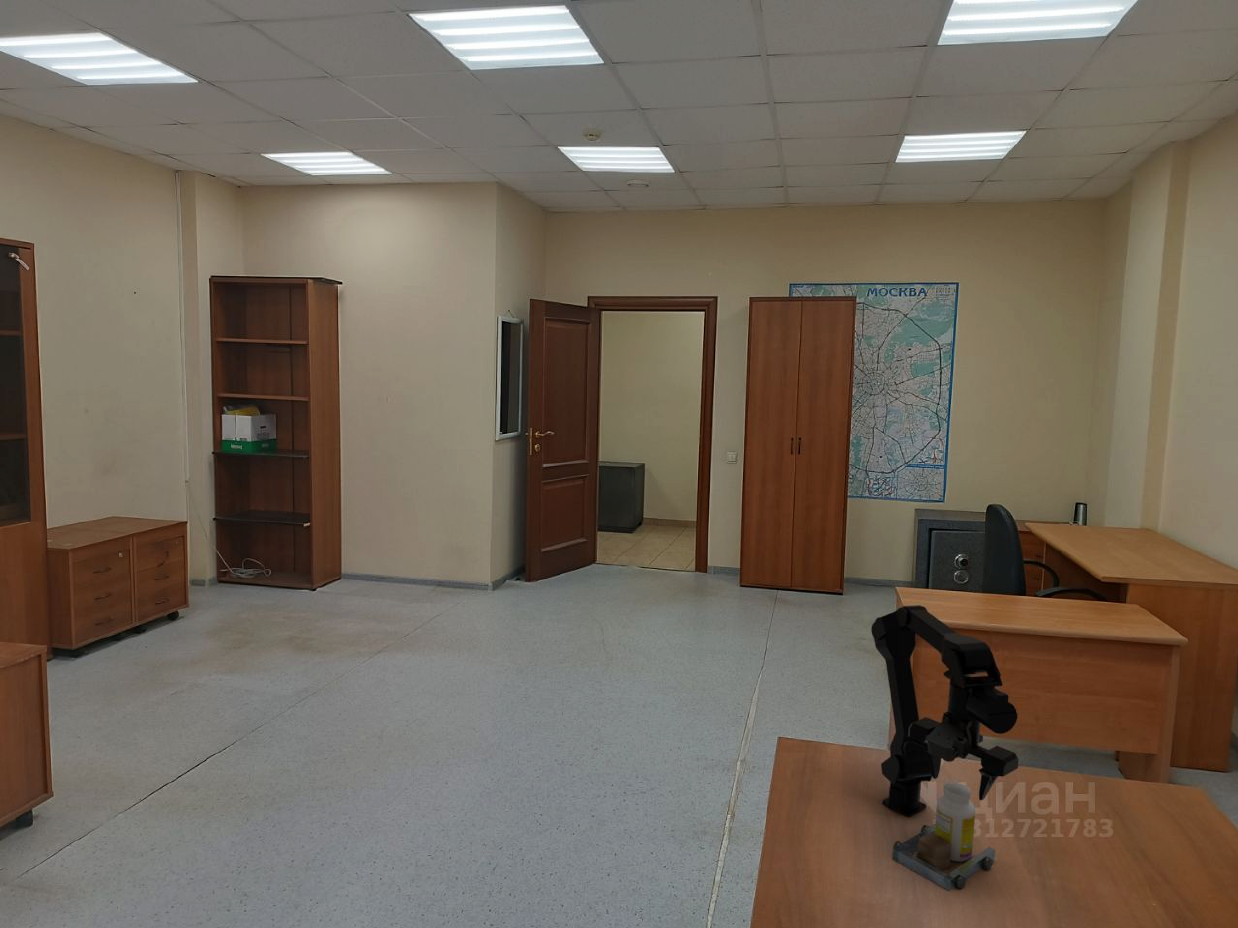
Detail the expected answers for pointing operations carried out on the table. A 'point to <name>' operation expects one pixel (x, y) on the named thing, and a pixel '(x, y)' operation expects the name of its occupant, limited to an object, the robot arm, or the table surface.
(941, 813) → the supplement bottle
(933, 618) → the robot arm
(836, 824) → the table surface
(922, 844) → the brown block
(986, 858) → the grey metal u-shaped frame
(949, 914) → the table surface
